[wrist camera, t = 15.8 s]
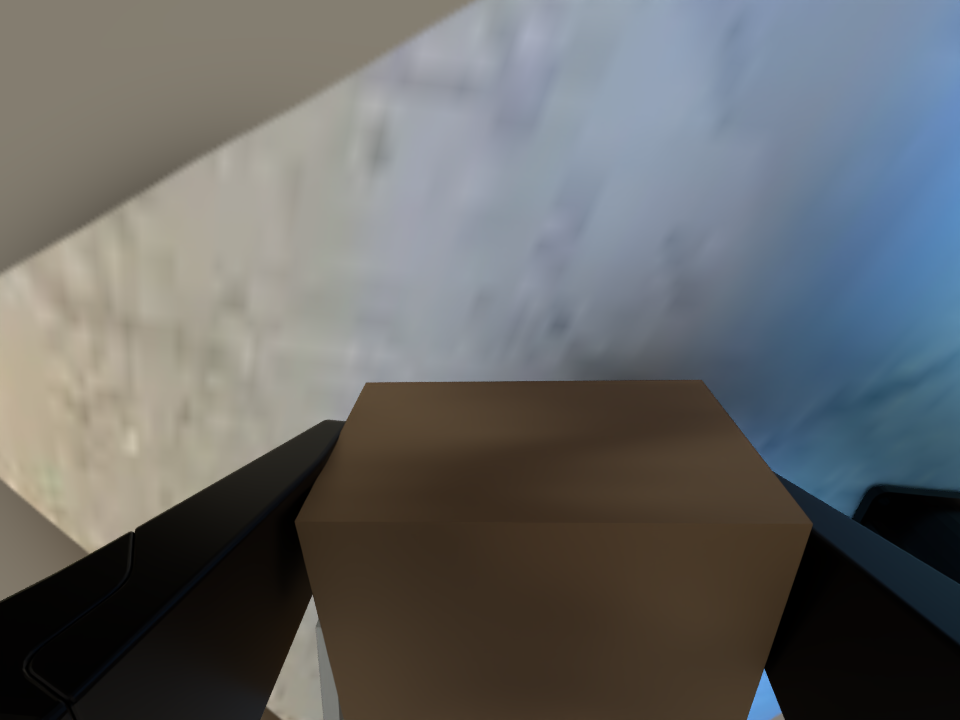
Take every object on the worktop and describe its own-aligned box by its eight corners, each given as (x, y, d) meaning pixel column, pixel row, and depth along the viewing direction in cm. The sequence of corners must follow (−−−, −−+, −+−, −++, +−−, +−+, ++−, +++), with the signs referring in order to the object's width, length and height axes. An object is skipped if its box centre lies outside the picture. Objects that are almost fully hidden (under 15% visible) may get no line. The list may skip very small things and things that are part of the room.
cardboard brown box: (701, 379, 9) (813, 523, 6) (670, 547, 11) (743, 729, 7) (365, 382, 9) (294, 521, 6) (389, 545, 11) (343, 720, 8)
